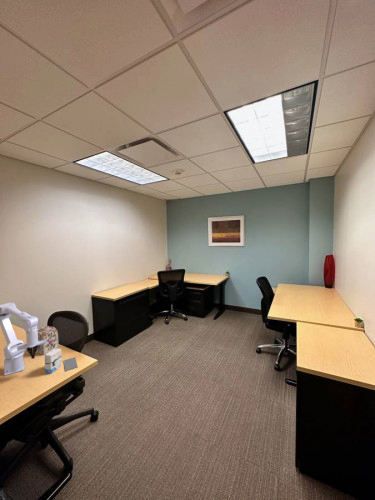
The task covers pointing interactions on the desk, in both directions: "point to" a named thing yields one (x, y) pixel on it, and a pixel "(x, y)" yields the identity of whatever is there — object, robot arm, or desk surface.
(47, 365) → the ink box
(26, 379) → the desk surface
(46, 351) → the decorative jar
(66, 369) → the mat
